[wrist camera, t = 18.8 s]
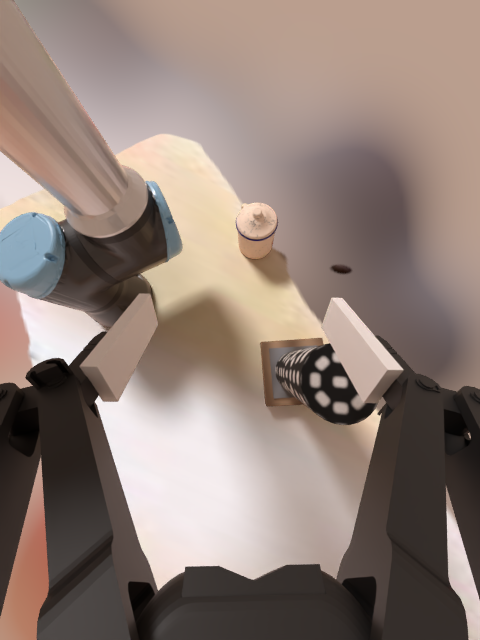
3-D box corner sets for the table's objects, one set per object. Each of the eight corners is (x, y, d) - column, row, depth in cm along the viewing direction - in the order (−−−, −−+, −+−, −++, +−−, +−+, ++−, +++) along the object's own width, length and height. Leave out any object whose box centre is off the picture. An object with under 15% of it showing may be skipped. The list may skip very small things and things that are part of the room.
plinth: (265, 402, 43) (267, 406, 39) (260, 343, 46) (261, 341, 42) (325, 399, 43) (332, 403, 39) (316, 339, 45) (323, 337, 42)
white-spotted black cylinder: (274, 391, 40) (299, 420, 20) (276, 349, 41) (300, 340, 22) (316, 394, 39) (383, 428, 20) (316, 352, 41) (378, 345, 21)
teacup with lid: (279, 252, 50) (287, 220, 39) (246, 266, 50) (245, 238, 39) (259, 215, 53) (262, 175, 41) (228, 228, 52) (222, 191, 41)
